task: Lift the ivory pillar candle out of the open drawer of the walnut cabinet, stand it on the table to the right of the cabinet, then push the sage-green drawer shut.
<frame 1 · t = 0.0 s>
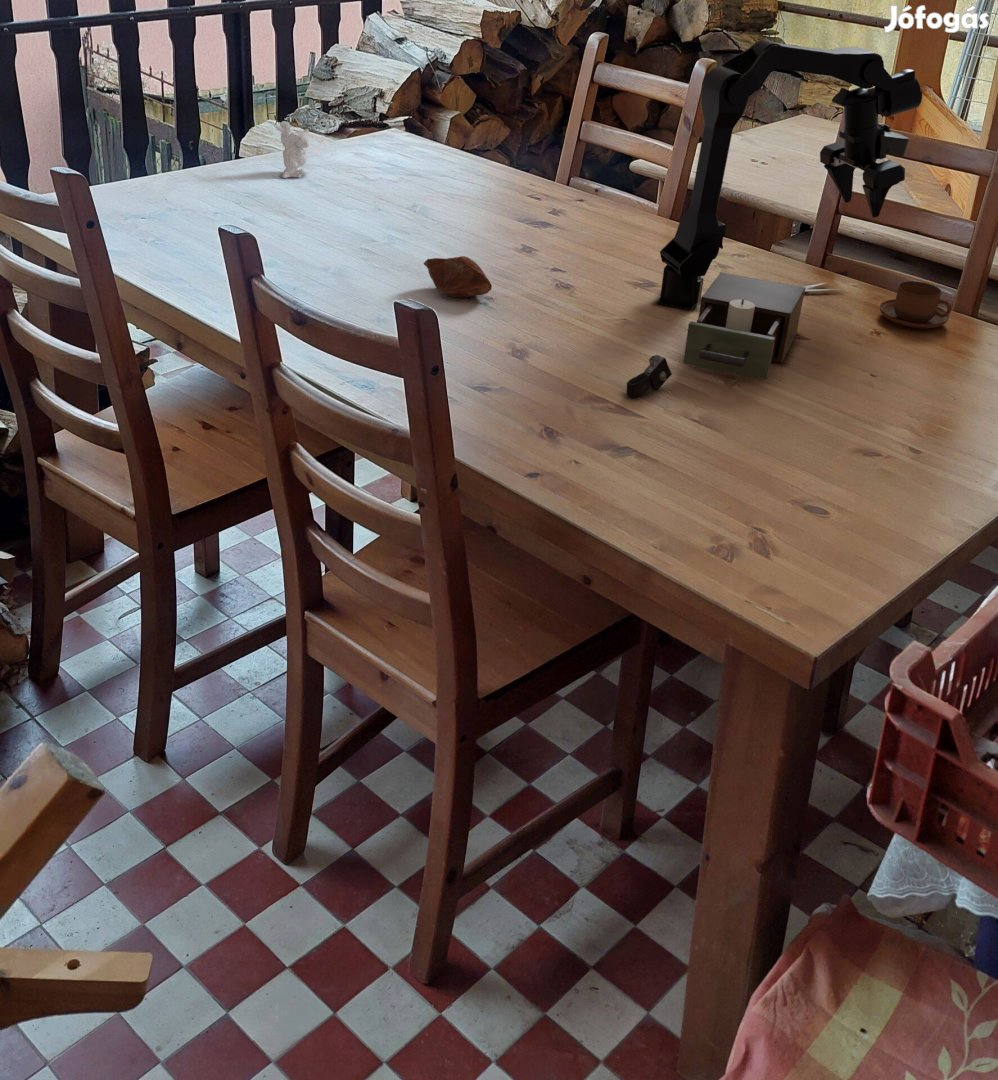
hand: (861, 209, 215), 15 cm above the table, tool pointing down, fingers open, 9 cm apart
brown rock: (458, 296, 211), on the table
scissors: (792, 294, 220), on the table
cup and saucer: (911, 322, 211), on the table
dark angular piece: (649, 393, 180), on the table
cabinet: (746, 340, 200), on the table
candle: (734, 351, 190), point 2 cm above the table, touching drawer
drawer: (732, 343, 187), point 4 cm above the table, slide at 9.0 cm, touching candle
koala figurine: (293, 176, 270), on the table
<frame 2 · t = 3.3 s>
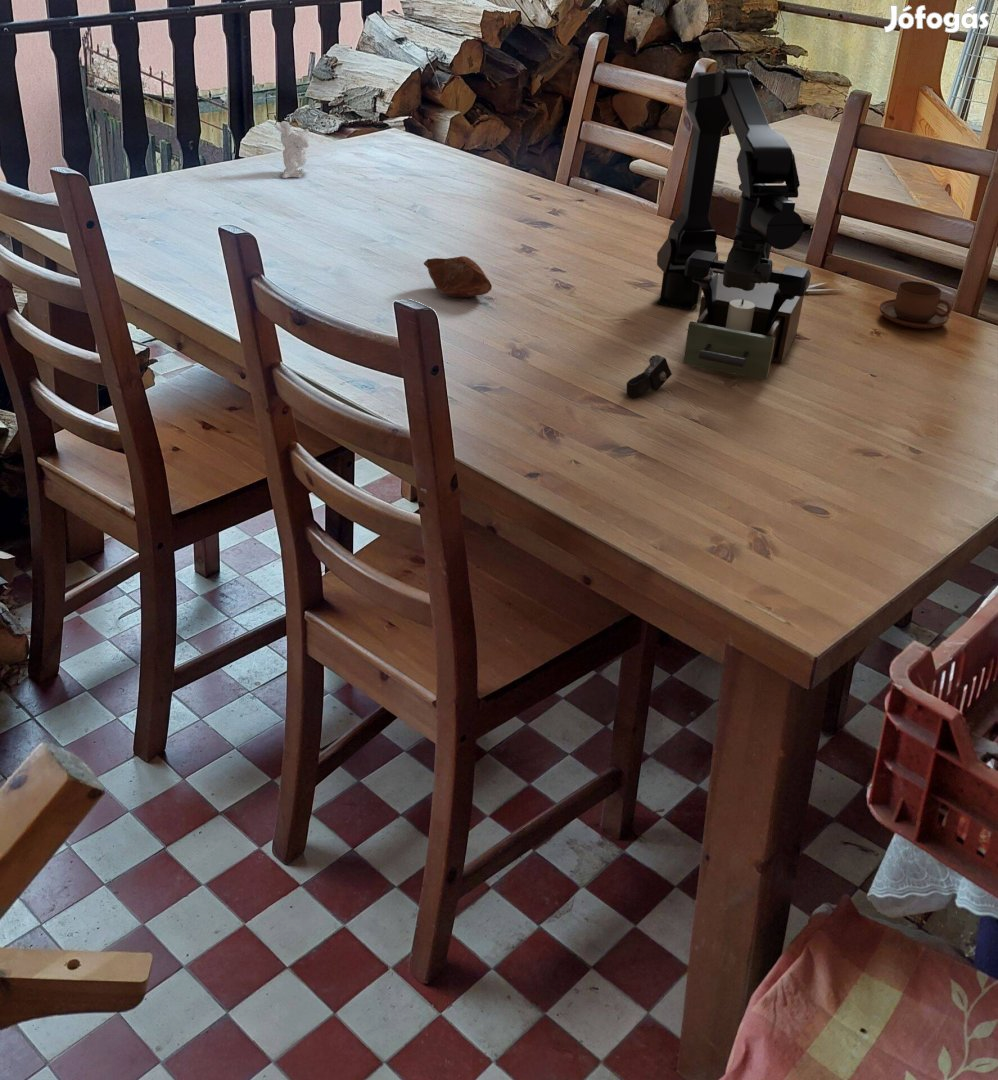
hand: (738, 324, 188), 7 cm above the table, tool pointing down, fingers open, 9 cm apart
drawer: (732, 343, 187), point 4 cm above the table, slide at 9.0 cm, touching candle, gripper
everything else where it was.
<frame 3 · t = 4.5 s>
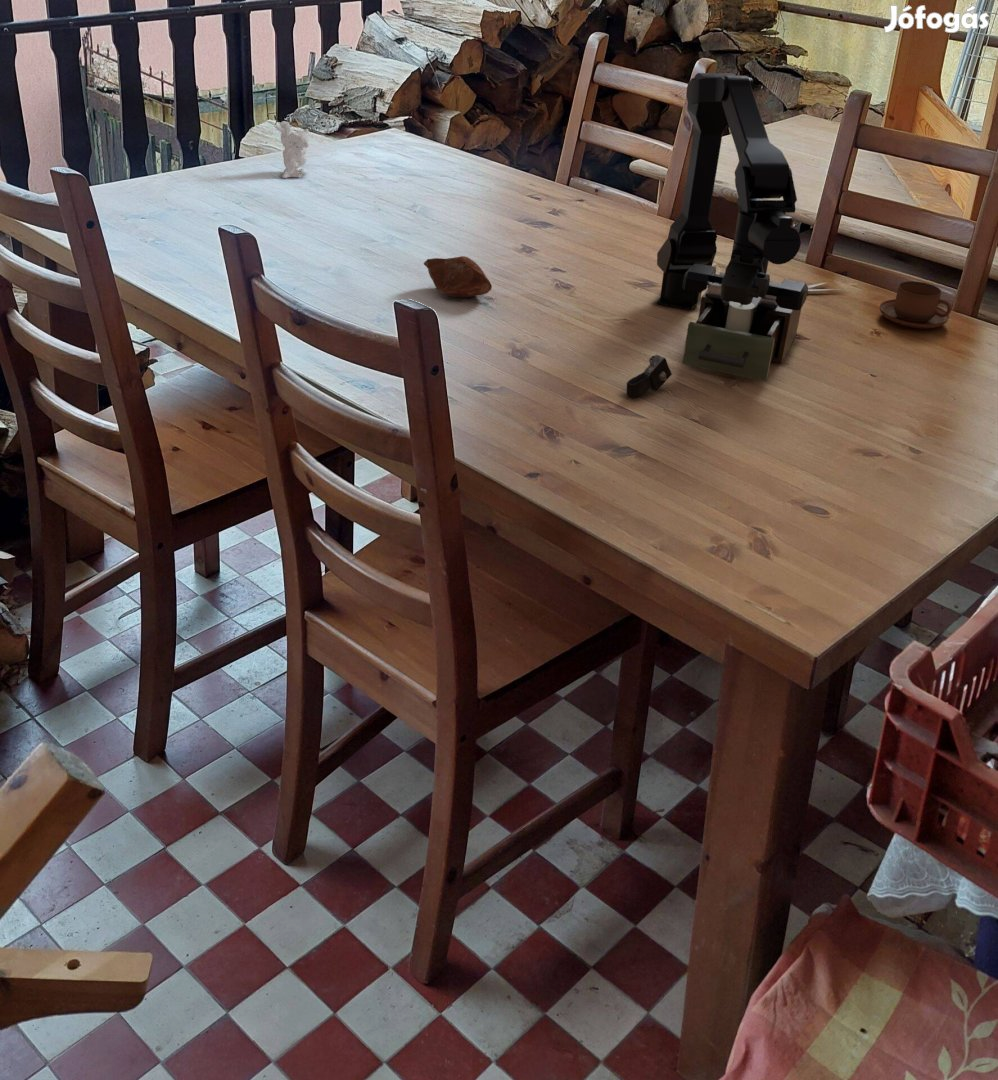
hand: (736, 337, 189), 4 cm above the table, tool pointing down, fingers closed on candle, 4 cm apart
candle: (733, 351, 190), point 2 cm above the table, touching drawer, gripper
drawer: (732, 344, 187), point 4 cm above the table, slide at 9.3 cm, touching candle
everything else where it was.
when the fingers open (2 cm above the table, at t = 10.5 s): candle stays where it is, on the table.
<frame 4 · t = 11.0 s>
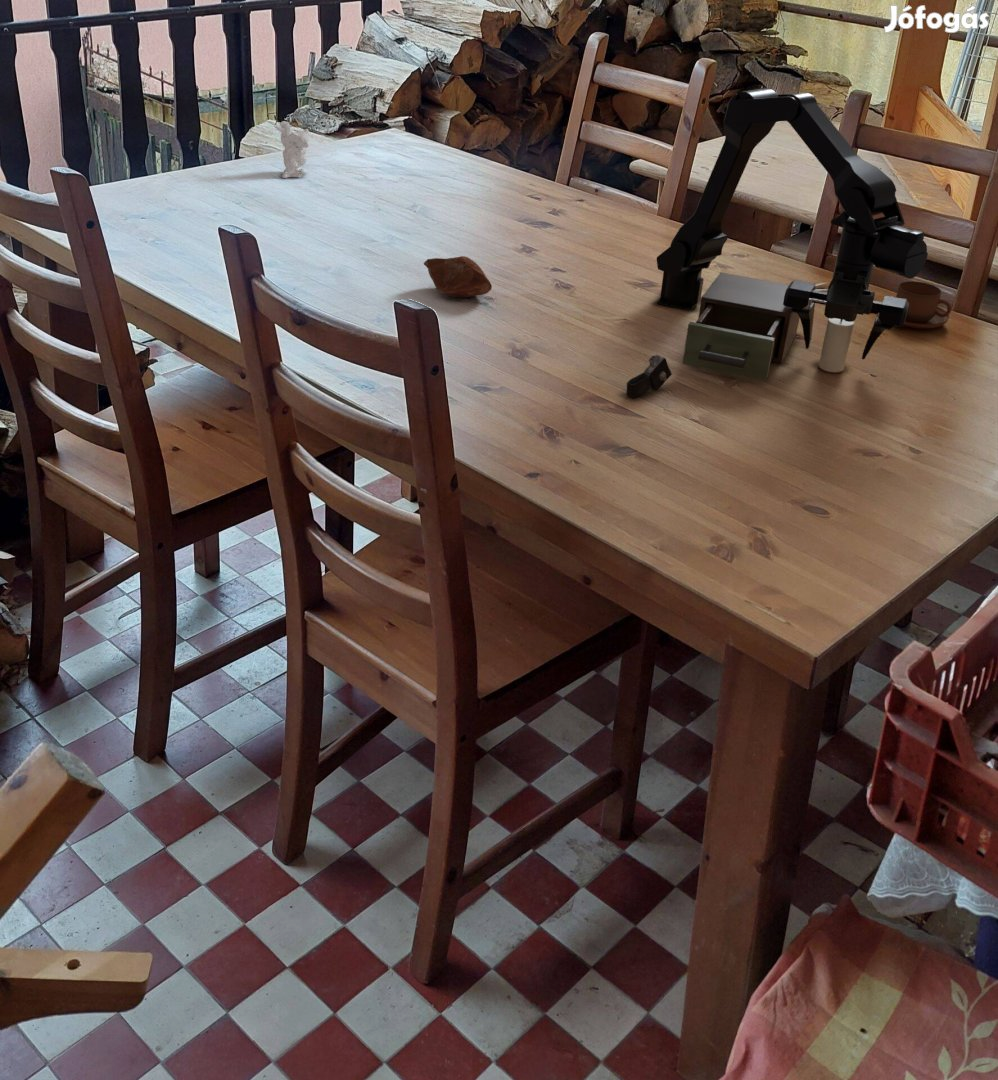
hand: (835, 353, 191), 2 cm above the table, tool pointing down, fingers open, 9 cm apart
candle: (831, 367, 192), on the table
drawer: (732, 344, 187), point 4 cm above the table, slide at 9.3 cm
everything else where it was.
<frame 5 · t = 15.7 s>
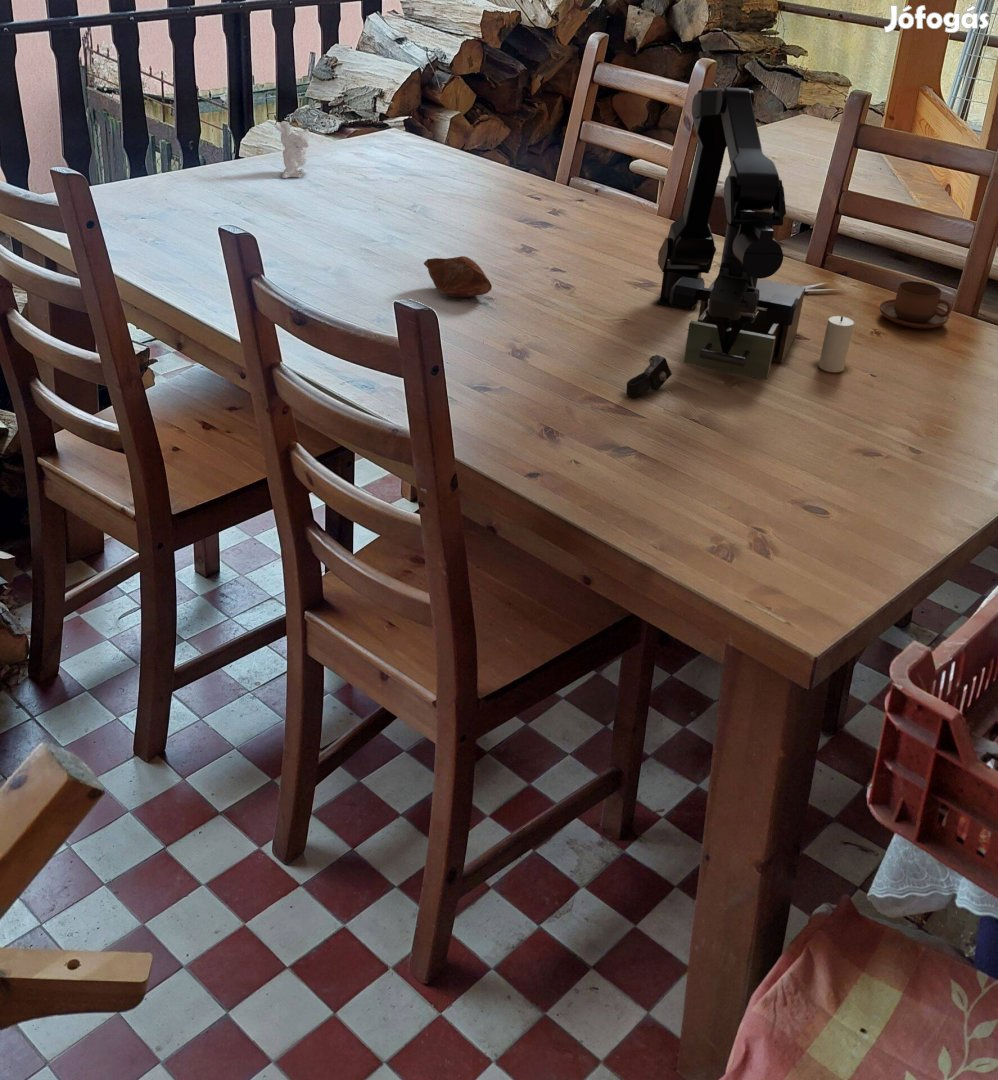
hand: (725, 353, 183), 5 cm above the table, tool pointing down, fingers closed, pressing on drawer
drawer: (733, 342, 187), point 4 cm above the table, slide at 8.6 cm, touching gripper
everything else where it was.
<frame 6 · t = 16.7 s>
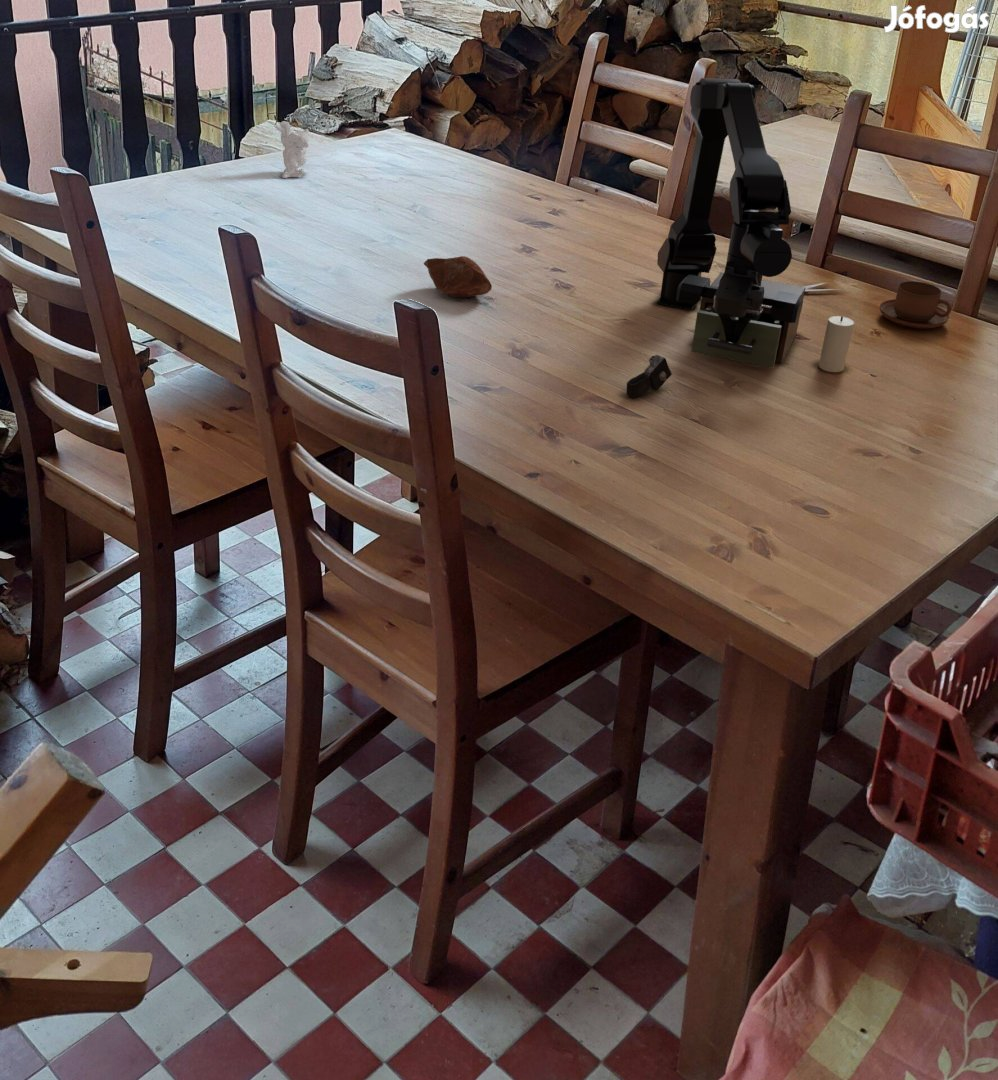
hand: (730, 349, 187), 3 cm above the table, tool pointing down, fingers closed, pressing on drawer
drawer: (740, 331, 191), point 4 cm above the table, slide at 3.6 cm, touching gripper
everything else where it was.
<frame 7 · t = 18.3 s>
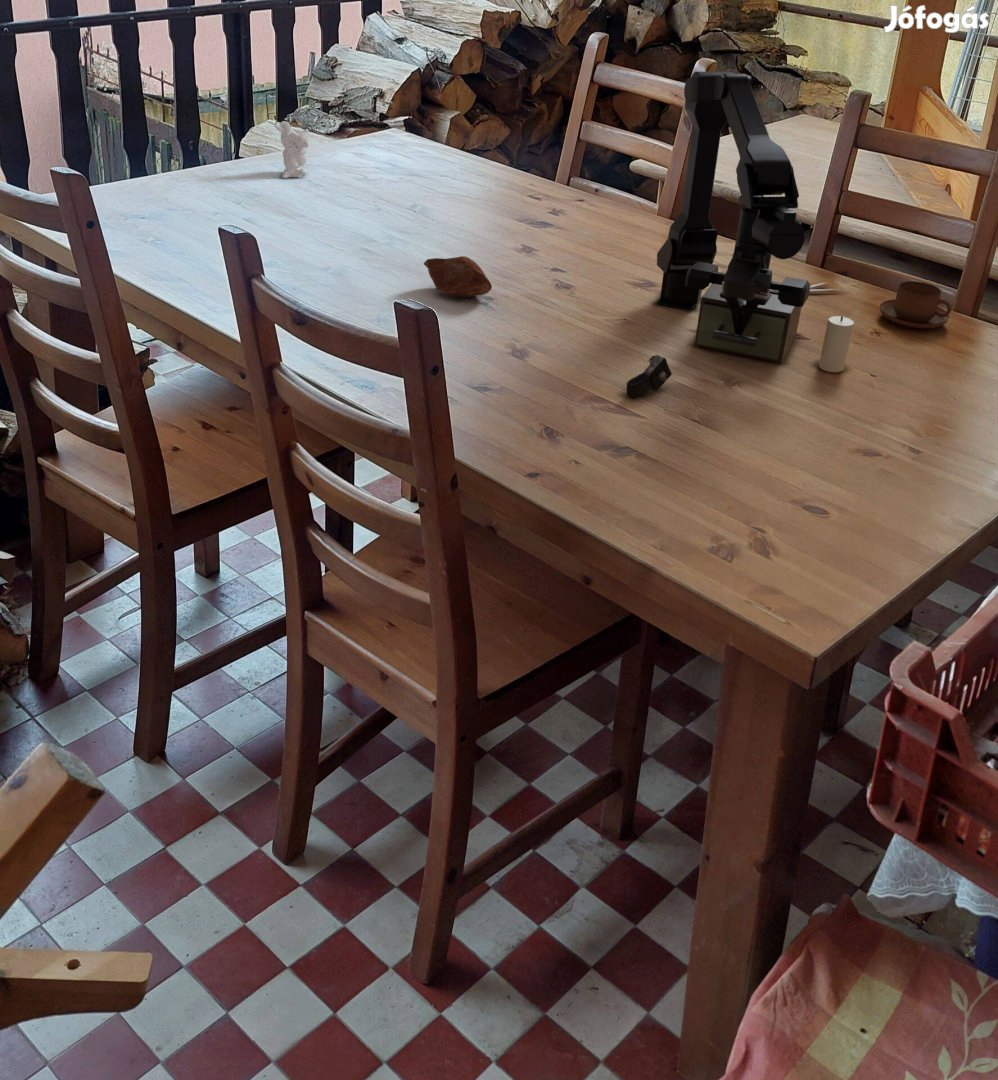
hand: (738, 335, 189), 4 cm above the table, tool pointing down, fingers closed
drawer: (745, 324, 194), point 4 cm above the table, slide at 0.0 cm, touching cabinet, gripper
everything else where it was.
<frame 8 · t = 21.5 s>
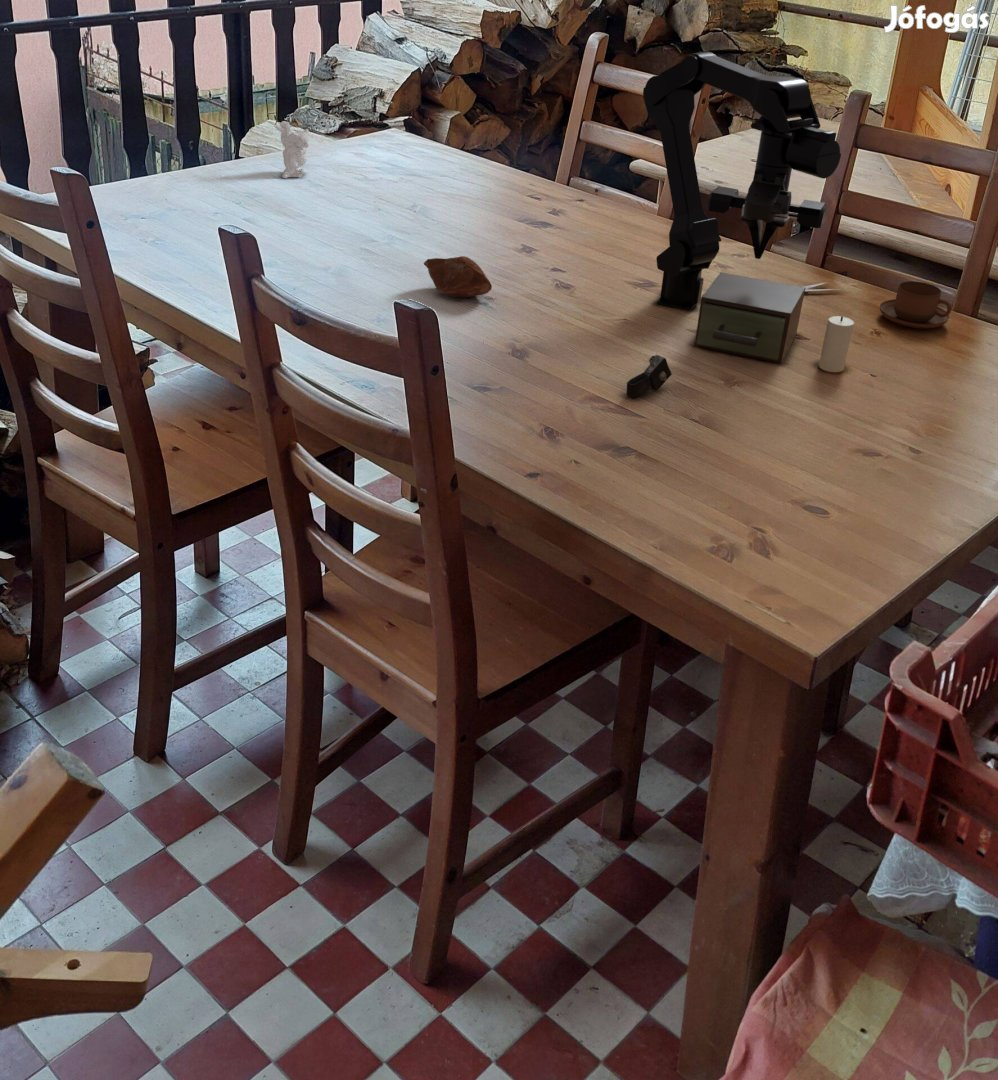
hand: (757, 258, 196), 13 cm above the table, tool pointing down, fingers closed
drawer: (745, 324, 194), point 4 cm above the table, slide at 0.0 cm, touching cabinet
everything else where it was.
at the end: candle inside the target area (0.3 cm from its centre), on the table; candle tilted 0°; drawer slide at 0.0 cm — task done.
